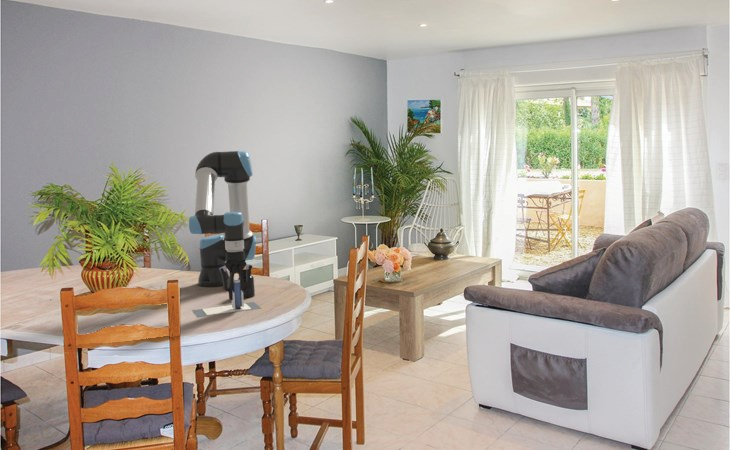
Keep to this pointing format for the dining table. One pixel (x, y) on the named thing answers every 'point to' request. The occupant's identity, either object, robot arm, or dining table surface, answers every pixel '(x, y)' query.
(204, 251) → the robot arm
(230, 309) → the paper
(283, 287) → the dining table surface
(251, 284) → the supplement bottle
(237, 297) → the marker
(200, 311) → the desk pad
